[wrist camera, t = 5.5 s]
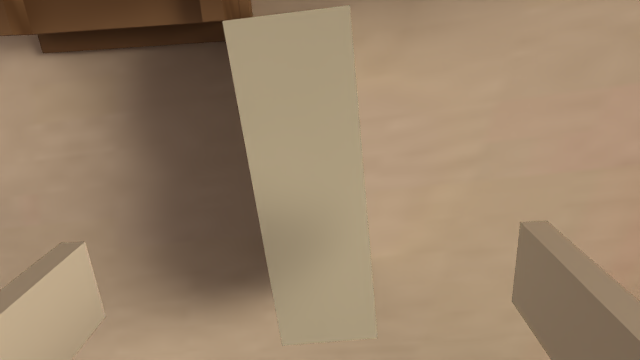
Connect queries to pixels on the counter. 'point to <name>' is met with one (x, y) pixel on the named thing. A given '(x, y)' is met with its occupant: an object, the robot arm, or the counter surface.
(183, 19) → the brown wooden frame
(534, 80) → the counter surface
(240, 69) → the clay bar
